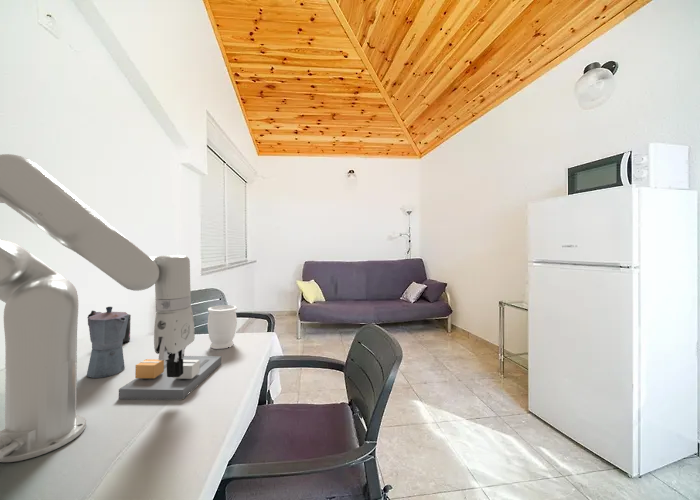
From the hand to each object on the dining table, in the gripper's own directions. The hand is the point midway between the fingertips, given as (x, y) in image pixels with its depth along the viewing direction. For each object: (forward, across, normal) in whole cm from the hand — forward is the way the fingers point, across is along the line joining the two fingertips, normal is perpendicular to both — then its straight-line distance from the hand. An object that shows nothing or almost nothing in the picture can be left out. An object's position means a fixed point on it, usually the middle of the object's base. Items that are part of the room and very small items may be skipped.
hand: (175, 375), depth 72 cm
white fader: (+3, +6, +1) cm, 7 cm away
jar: (+7, +38, +5) cm, 39 cm away
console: (+6, +10, +6) cm, 13 cm away
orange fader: (+3, +6, +11) cm, 13 cm away
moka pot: (+6, +14, +30) cm, 34 cm away
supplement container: (+6, +40, +46) cm, 61 cm away
